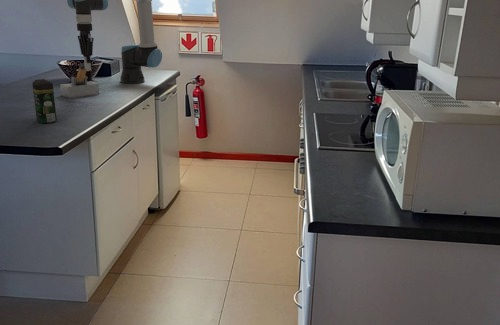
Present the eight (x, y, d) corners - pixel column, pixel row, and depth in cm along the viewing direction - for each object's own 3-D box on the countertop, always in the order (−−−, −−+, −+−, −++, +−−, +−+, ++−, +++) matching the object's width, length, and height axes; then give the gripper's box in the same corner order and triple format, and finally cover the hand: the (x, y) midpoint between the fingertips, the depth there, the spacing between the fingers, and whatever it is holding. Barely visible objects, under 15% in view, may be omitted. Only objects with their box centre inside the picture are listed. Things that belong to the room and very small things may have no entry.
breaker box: (61, 95, 271) (59, 77, 268) (91, 91, 283) (89, 74, 280) (68, 98, 265) (66, 79, 262) (99, 94, 277) (97, 76, 274)
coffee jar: (34, 119, 222) (29, 78, 215) (52, 117, 226) (48, 77, 220) (40, 124, 214) (35, 82, 208) (59, 122, 219) (54, 81, 213)
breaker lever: (74, 81, 271) (79, 63, 262) (81, 80, 274) (87, 62, 265) (75, 84, 271) (81, 66, 261) (83, 83, 274) (89, 65, 264)
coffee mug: (95, 85, 300) (93, 69, 297) (89, 88, 292) (88, 71, 289) (76, 84, 301) (75, 68, 298) (70, 87, 293) (69, 70, 290)
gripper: (71, 22, 255) (75, 67, 263) (83, 24, 247) (87, 71, 255) (84, 21, 261) (88, 66, 268) (97, 23, 252) (100, 69, 260)
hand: (87, 68), depth 262 cm, fingers closed
